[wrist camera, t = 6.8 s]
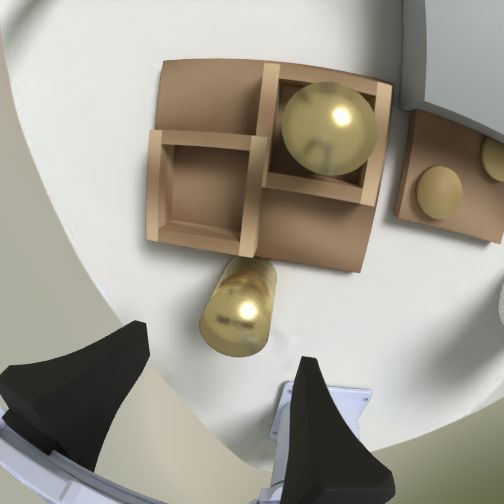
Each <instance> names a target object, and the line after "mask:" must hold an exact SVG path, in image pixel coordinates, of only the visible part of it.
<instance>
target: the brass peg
mask: <svg viewBox="0 0 504 504" xmlns="http://www.w3.org/2000/svg"><path fill="white" fill-rule="evenodd" d="M276 283H277V274H276V271H275V269H274V267H273V265H272V264H271V263H270V262H269V261H268V260H267V259H265V258H264V257H259V256H253V258H250V257H244V256H236V257H235V258H233V259H232V260H231V261H230V262H229V263H228V265H227V267H226V269H225V271H224V273H223V275H222V277H221V278H220V280H219V282H218V284H217V286H216V288H215V290H214V292H213V294H212V296H211V298H210V300H209V302H208V304H207V306H206V308H205V310H204V312H203V314H202V316H201V318H200V323H199V327H200V332H201V335H202V337H203V339H204V340H205V341H206V343H207V344H208V345H209V346H210V347H211V348H213V349H214V350H216V351H217V352H219V353H221V354H224V355H227V356H231V357H247V356H251V355H254V354H256V353H258V352H259V351H261V350H262V349H263V348H264V346H265V345H266V343H267V341H268V337H269V331H270V324H271V317H272V311H273V304H274V297H275V290H276Z"/></svg>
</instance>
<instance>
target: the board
mask: <svg viewBox="0 0 504 504" xmlns="http://www.w3.org/2000/svg"><path fill="white" fill-rule="evenodd" d="M394 215H395V216H396V217H397V218H399V219H404V220H408V221H412V222H417V223H421V224H425V225H430V226H434V227H438V228H442V229H446V230H450V231H454V232H458V233H461V234H465V235H469V236H473V237H476V238H480V239H484V240H487V241H491V242H494V243H498V244H500V243H501V240H502V236H503V233H504V144H503V143H501V142H499V141H497V140H495V139H493V138H491V137H489V136H487V135H485V134H483V133H480V132H478V131H476V130H474V129H471V128H469V127H467V126H464V125H462V124H459V123H457V122H454V121H452V120H449V119H447V118H444V117H441V116H439V115H436V114H433V113H430V112H427V111H424V110H421V109H414V110H411V113H410V122H409V130H408V138H407V145H406V152H405V158H404V164H403V170H402V175H401V181H400V186H399V191H398V196H397V201H396V205H395V210H394Z"/></svg>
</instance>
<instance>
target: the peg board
mask: <svg viewBox="0 0 504 504" xmlns="http://www.w3.org/2000/svg"><path fill="white" fill-rule="evenodd" d="M317 82H336V83H340V84H343V85H346V86H348V87H350V88H352V89H354V90H355V91H357V92H358V93H359V94H360V95H362V96H363V97H364V98H365V100H366V101H367V102H368V103H369V105H370V106H371V108H372V110H373V112H374V115H375V118H376V121H377V128H378V134H377V141H376V145H375V148H374V150H373V152H372V154H371V156H370V157H369V158H368V160H367V161H366V162H365V163H364V164H363V165H361V166H360V167H359V168H357V169H356V170H354V171H352V172H349V173H346V174H343V175H323V174H319V173H316V172H313V171H311V170H309V169H307V168H305V167H304V166H302V165H301V164H300V163H299V162H298V161H296V159H295V158H294V157H293V156H292V155H291V153H290V152H289V150H288V149H287V147H286V145H285V142H284V139H283V135H282V127H281V126H282V116H283V113H284V110H285V107H286V105H287V103H288V102H289V100H290V99H291V98H292V97H293V95H294V94H295V93H297V92H298V91H299V90H300V89H302V88H304V87H306V86H308V85H310V84H313V83H317ZM393 93H394V83H390V82H386V81H383V80H379V79H375V78H371V77H367V76H363V75H358V74H354V73H349V72H344V71H339V70H334V69H328V68H323V67H316V66H310V65H303V64H295V63H286V62H276V61H265V60H249V59H182V60H166V61H163V66H162V73H161V81H160V88H159V97H158V106H157V116H156V127H155V130H150V133H149V147H148V166H147V196H146V238H147V240H150V241H156V242H162V243H168V244H174V245H179V246H185V247H191V248H197V249H203V250H209V251H215V252H220V253H226V254H232V255H238V256H244V257H250V258H253V256H259V257H265V258H271V259H277V260H283V261H289V262H295V263H301V264H307V265H314V266H320V267H326V268H332V269H338V270H344V271H350V272H356V273H360V271H361V268H362V264H363V260H364V256H365V253H366V249H367V245H368V241H369V237H370V232H371V228H372V224H373V219H374V215H375V210H376V206H377V201H378V196H379V191H380V186H381V180H382V175H383V169H384V163H385V157H386V151H387V144H388V137H389V129H390V121H391V113H392V104H393Z"/></svg>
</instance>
